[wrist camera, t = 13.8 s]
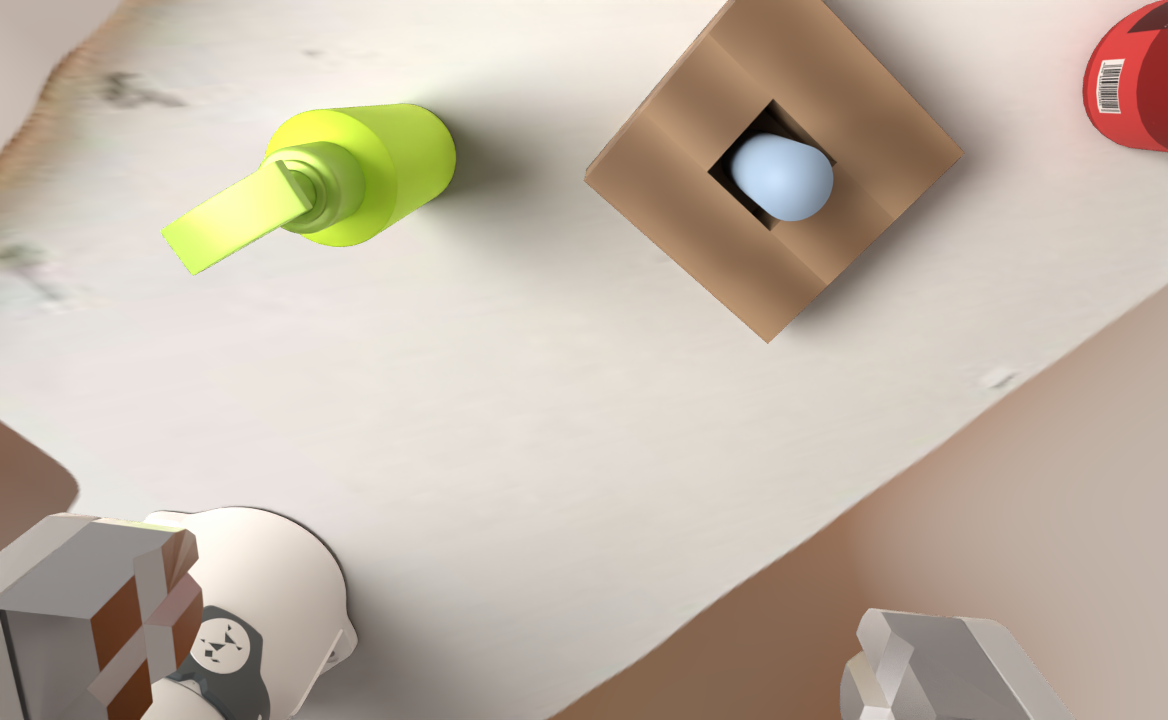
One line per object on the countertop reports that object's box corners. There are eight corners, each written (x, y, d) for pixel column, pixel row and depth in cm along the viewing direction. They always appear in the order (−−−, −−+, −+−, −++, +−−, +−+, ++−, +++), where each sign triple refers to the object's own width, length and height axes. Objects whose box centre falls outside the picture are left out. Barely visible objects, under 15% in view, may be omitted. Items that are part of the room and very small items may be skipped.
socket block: (747, 312, 46) (767, 343, 40) (586, 168, 43) (584, 180, 37) (916, 144, 42) (964, 153, 36) (751, -28, 38) (776, -49, 33)
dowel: (761, 196, 42) (808, 233, 32) (711, 173, 42) (743, 202, 32) (789, 143, 41) (848, 163, 31) (738, 119, 41) (780, 131, 31)
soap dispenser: (327, 141, 42) (111, 182, 24) (423, 85, 41) (274, 81, 22) (381, 227, 44) (219, 326, 26) (474, 175, 43) (375, 241, 24)
